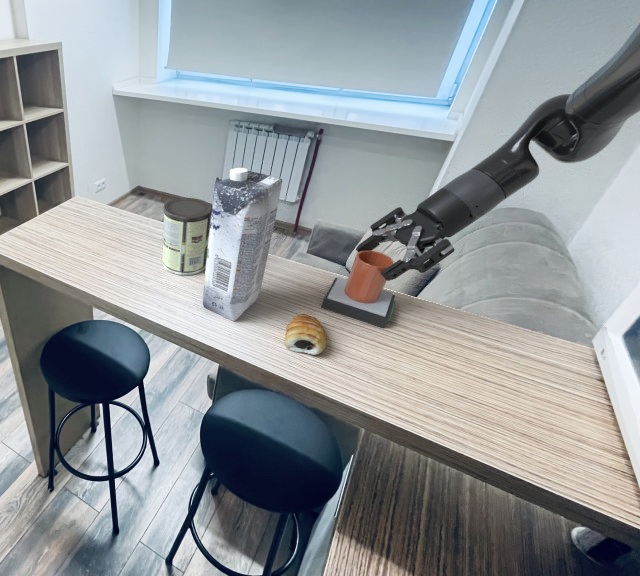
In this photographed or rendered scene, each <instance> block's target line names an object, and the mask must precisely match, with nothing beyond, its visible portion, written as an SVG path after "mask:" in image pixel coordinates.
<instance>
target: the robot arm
mask: <svg viewBox="0 0 640 576" xmlns="http://www.w3.org/2000/svg"><path fill="white" fill-rule="evenodd" d="M639 112H640V22H639V23H638V24H637V26H636V27H635V28H634V30H633V31H632V32H631V34H630V35H629V36H628V38H627V39H626V40H625V41H624V43H623V44H622V46H621V47H620V48H619V49H618V50H616V52H615V53H614V55H613V56H612V57H611V58H610V59H608V60H607V61H606V62H605V63H604V64H603V65H602V66H601V67H600V68H599V69H597V70H596V71H595V72H594V73H593V74H592V75H590V76H589V78H587V79H586V80H584V81H583V82H582V83H581V84H580V85H578V87H577V88H575V90H574V91H573V92H572V93H564V94H559V95H555V96H552V97H550V98H548V99H547V100H545V101H543V102H542V103H540V104H539V105H538V106H537V107H536V108H534V109H533V111H532V112H531V113H530V114H529V115H528V117H526V119H525V120H524V121H523V122H522V123H521V125H520V126H519V127H518V128H517V130H516V131H515V132H514V133H512V135H511V136H510V137H509V138H508V139H507V140H506V141H505V142H504V143H503V144H502V145H501V146H500V147H499V148H498V149H496V150H495V151H494V152H492V153H491V154H490V155H489V156H487V157H486V158H484V159H483V160H481V161H480V162H478V163H477V164H476V165H474V166H473V167H472V168H470V169H468V170H467V171H466V172H464V173H461V174H460V175H458V176H457V177H455V178H453V179H452V180H451V181H449V182H448V183H447V184H445V185H443V186H442V187H441V188H439V189H438V190H437V191H435V192H434V193H433V194H431V195H429V196H428V197H426V199H424V200H423V201H421V202H420V203H418V204H417V207H416V210H415V211H414V212H412V213H409V214H407V213H406V212H405V211H404V210H403V208H402V207H401V206H398V207H396V208H395V209H393V210H392V211H390V212H389V213H387V214H386V215H384V216H383V217H381V218H379V219H378V220H377V221H375V222H374V223H372V224H371V225H370V227H369V228H370V229H371V232H372V233H371V235H369V237H367V238H366V239H364V241H362V242H360V243H359V244H358V245H357V247H355V251H356V252H357V253H358V252H360V251H366V250H367V251H374V249H376V248H377V247H379V246H380V245H381V244H383V243H387V242H392V243H395V242H399V243H400V244H401V245H404V246H405V247H406V251H405V253H404V256H403V257H402V259H398V260H396V261H395V262H393V264H392V265H391V266H389V267H388V268H386V269H385V270H383V271H382V272H381V275H382V276H383V277H384V278H385V279H386V280H387V281H386V282H389V281H393V280H396V279H397V278H399V277H400V276H402V275H403V274H405V273H406V272H408V271H410V270H412V271H413V270H415V271H418V272H419V273H420V274H425V273H426V272H428V271H429V270H430V269H432V268H433V267H435V266H436V265H438V264H439V263H440V262H442V261H443V260H444V259H446V258H448V256H450V255H452V254H453V253H455V251H456V250H455V248H454V246H453V244H452V243H451V241H450V239H449V238H452V237H454V236H455V235H456V234H458V233H460V232H461V231H462V230H464V229H466V228H467V227H469V226H470V225H472V224H473V223H475V222H477V221H478V220H479V219H481V218H482V217H484V216H485V215H487V214H489V212H491V211H492V210H493V209H495V208H496V207H497V206H499V204H501V203H502V202H504V201H505V200H506V199H508V198H510V197H511V196H512V195H514V194H516V193H517V192H518V191H520V190H521V189H523V188H525V187H526V186H527V185H529V184H531V183H532V182H533V181H534V180H535V179H537V178H538V176H539V174H540V172H541V171H540V167H539V164H538V162H537V161H536V158H535V157H534V155H533V154H532V152H531V149H530V144H531V142H533V143H534V144H535V145H537V147H539V148H540V149H541V150H542V151H544V152H545V153H546V154H547V155H549V156H550V157H551V158H552V159H554V160H555V161H557V162H559V163H562V164H577V163H581V162H584V161H587V160H589V159H591V158H592V157H594V156H596V155H598V154H599V153H600V152H601V151H603V150H604V149H605V148H606V147H608V146H609V144H611V143H612V141H614V139H615V138H616V137H617V135H618V134H619V133H620V131H621V129H622V128H623V126H624V125H625V123H626V122H627V121H628V119H630V118H631V117H634V116H635V115H636V114H638V113H639ZM428 248H429V249H428Z"/></svg>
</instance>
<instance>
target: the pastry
mask: <svg viewBox="0 0 640 576" xmlns="http://www.w3.org/2000/svg"><path fill="white" fill-rule="evenodd" d="M283 344H284V346H285V348H286V349H287V350H288V351H290V352H296V353H302V354H303V353H305V354H308V355H313V356H317V355H320V354H321V353H323V352H324V350H326V347H327V335H326V332H325V329H324V327H323V326H322V324H321V322H320V321H319V320H318V318H317V317H314V316H311V315H309V314H306V313H301V314H298V315H296V316H293V318H292V319H291V320H290V322H289V323H288V324H287V326H286V327H285V336H284V340H283Z"/></svg>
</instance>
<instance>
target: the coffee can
mask: <svg viewBox="0 0 640 576" xmlns="http://www.w3.org/2000/svg"><path fill="white" fill-rule="evenodd" d="M212 207H213V205H211V204H210V203H209V202H208V201H206V200H202V199H199V198H195V197H194V198H193V197H178V198H174V199H171V200H168V201H166V202H165V203H164V205H163V207H162V208H163V210H162V211H163V230H162V233H163V234H162V262H161V265H162V267H163V268H164V269H165V271H167V272H168V273H172V274H175V275H178V276H193V275H197V274H199V273H201V272H203V271H204V270H206V261H207V252H208V243H209V234H210V225H211V216H212Z"/></svg>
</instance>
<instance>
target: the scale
mask: <svg viewBox="0 0 640 576" xmlns="http://www.w3.org/2000/svg"><path fill="white" fill-rule="evenodd" d="M347 280H348V278H344V277H340V276H338V277H334V279H333V281H332V283H331V285H330V287H329V289H328V290H327V293H326V294H325V296H324V297H323V300H322V303H321V306H320V308H321V309H324V310H327V311H331V312H332V313H333V312H334V313H336V314H339V315H342V316H345V317H347V318H351V319H354V320H357V321H359V322H363V323H366V324H368V325H369V324H370V325H372V326H375V327H377V328H380V329H384V328H385V326H386V324H387V323H389V322H390V320H391V318H392V315H393V312H394V308H395V305H396V303H397V301H395V298H396V295H395V294H394V292H392V291H388V290H385V289H383V290H382V293H381V295H380V297H379V299H378V301H376V302H374V303H360V302H357V301H354V300H352V299H350V298H349V297H348V296H347V295H346V294H345V292H344V289H345V286H346V283H347Z"/></svg>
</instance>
